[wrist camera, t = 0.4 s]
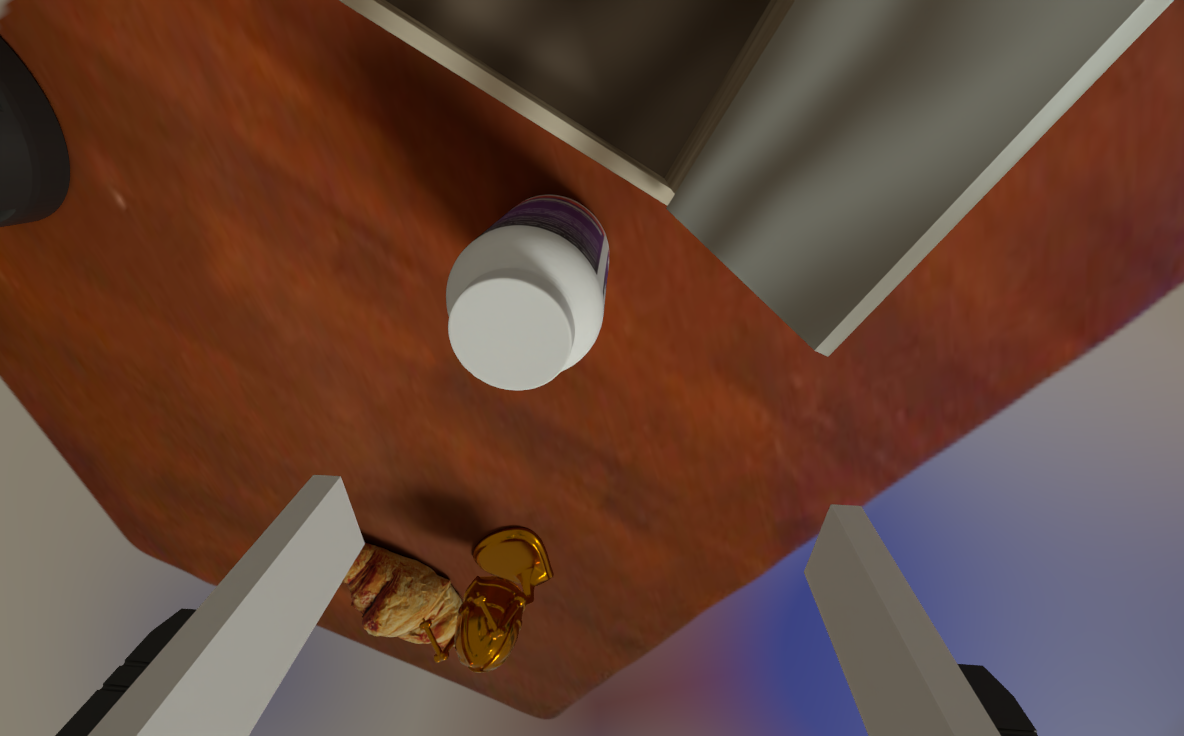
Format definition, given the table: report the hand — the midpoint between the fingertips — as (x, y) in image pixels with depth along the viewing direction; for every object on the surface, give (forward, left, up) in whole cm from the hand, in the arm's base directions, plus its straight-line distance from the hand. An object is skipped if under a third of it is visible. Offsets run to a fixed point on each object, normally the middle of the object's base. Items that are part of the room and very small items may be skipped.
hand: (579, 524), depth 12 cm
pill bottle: (-4, -1, -23) cm, 24 cm away
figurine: (+7, -33, -23) cm, 41 cm away
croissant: (-1, -45, -24) cm, 50 cm away
